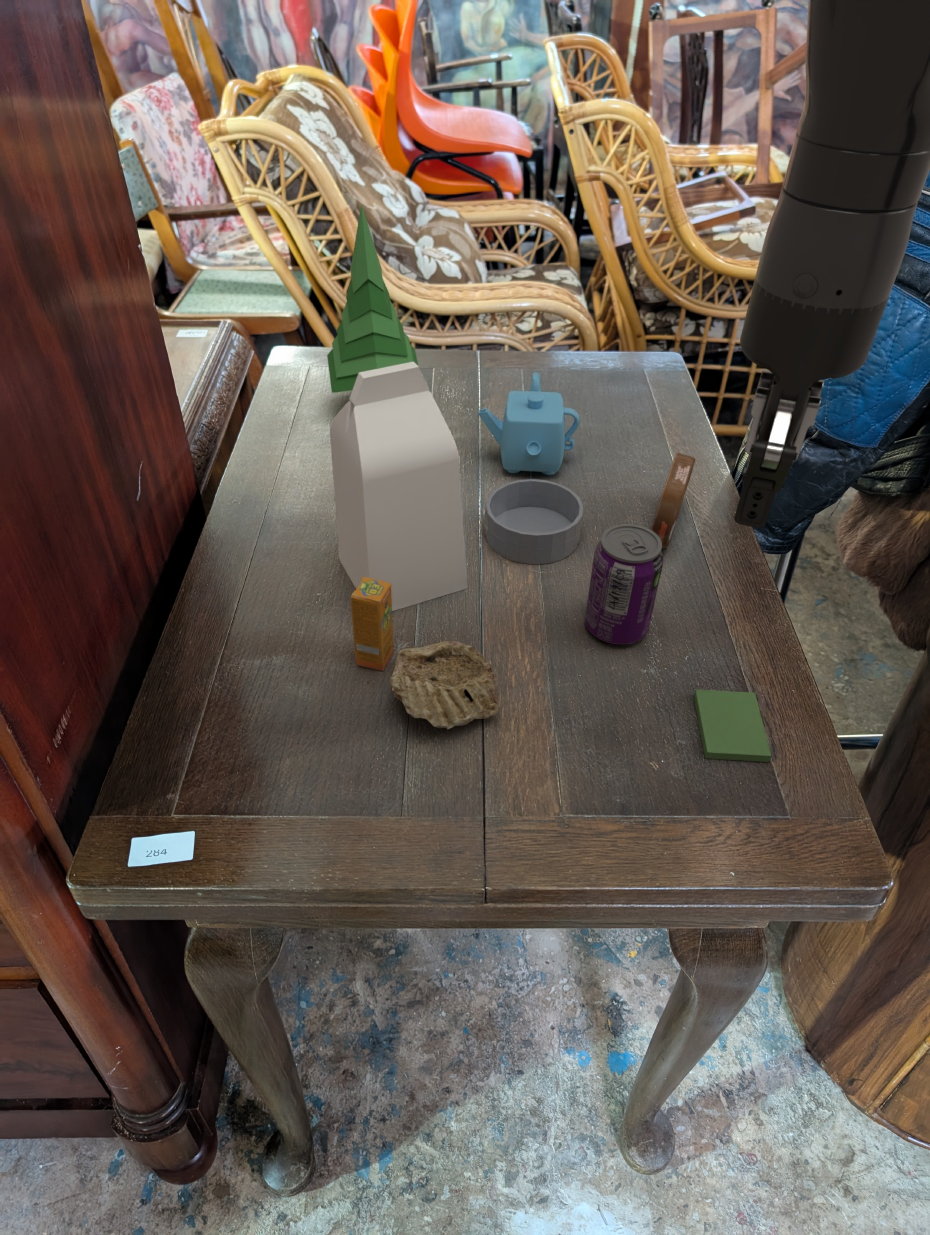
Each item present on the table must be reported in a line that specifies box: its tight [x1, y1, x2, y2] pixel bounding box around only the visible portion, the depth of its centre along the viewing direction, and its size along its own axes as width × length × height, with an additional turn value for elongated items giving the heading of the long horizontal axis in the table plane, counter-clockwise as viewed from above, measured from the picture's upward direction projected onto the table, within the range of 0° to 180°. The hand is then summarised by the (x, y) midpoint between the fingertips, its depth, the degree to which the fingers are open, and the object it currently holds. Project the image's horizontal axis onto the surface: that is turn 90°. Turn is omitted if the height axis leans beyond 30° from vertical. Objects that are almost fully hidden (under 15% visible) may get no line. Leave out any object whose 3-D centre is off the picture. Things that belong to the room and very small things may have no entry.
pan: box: [484, 478, 585, 565], centre depth 100 cm, size 12×12×4 cm
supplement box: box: [350, 577, 394, 672], centre depth 82 cm, size 3×3×10 cm
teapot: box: [477, 371, 581, 476], centre depth 111 cm, size 18×14×10 cm
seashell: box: [389, 640, 499, 730], centre depth 79 cm, size 11×7×10 cm
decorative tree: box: [326, 203, 419, 394], centre depth 115 cm, size 14×16×30 cm
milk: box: [329, 362, 469, 612], centre depth 87 cm, size 12×12×26 cm
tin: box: [650, 451, 696, 549], centre depth 100 cm, size 15×3×8 cm, turn 159°
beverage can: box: [584, 523, 665, 645], centre depth 85 cm, size 7×7×12 cm
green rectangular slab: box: [693, 689, 772, 763], centre depth 78 cm, size 8×6×1 cm
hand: (749, 520), depth 58 cm, fingers closed
